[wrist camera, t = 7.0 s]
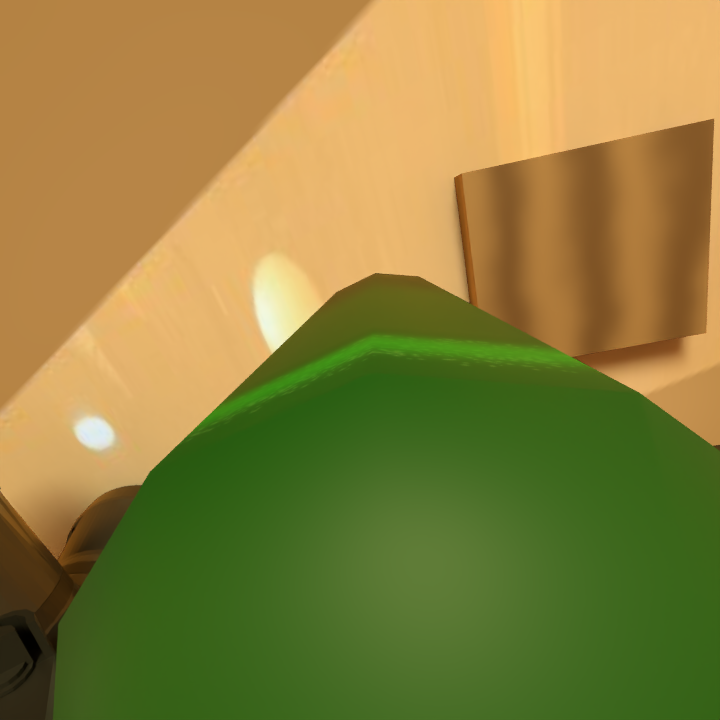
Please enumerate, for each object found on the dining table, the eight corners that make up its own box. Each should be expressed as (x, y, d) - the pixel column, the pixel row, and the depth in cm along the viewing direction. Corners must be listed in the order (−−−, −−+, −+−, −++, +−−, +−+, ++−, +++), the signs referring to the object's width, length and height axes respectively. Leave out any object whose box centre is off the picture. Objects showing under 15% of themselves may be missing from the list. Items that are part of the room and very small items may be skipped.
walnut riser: (477, 361, 40) (485, 372, 37) (454, 177, 35) (461, 173, 32) (681, 324, 38) (706, 332, 35) (684, 127, 34) (714, 118, 31)
